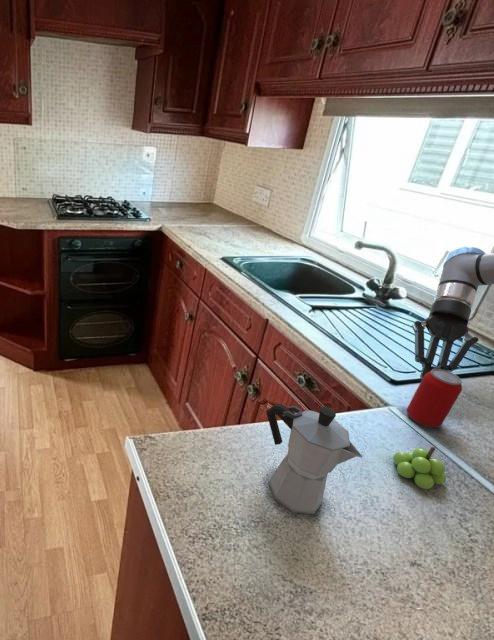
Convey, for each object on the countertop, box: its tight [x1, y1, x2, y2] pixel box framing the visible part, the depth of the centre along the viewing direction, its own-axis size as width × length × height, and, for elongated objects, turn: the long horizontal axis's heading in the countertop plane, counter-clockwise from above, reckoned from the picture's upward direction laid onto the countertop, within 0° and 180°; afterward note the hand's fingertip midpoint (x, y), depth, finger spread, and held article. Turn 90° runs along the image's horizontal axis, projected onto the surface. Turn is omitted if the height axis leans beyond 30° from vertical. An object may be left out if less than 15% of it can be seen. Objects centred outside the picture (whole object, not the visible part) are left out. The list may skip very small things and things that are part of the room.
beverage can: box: [406, 369, 463, 428], centre depth 88 cm, size 7×7×12 cm
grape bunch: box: [392, 446, 447, 490], centre depth 74 cm, size 8×8×7 cm
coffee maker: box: [266, 403, 363, 515], centre depth 66 cm, size 15×9×18 cm, turn 43°
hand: (426, 393), depth 93 cm, fingers closed
